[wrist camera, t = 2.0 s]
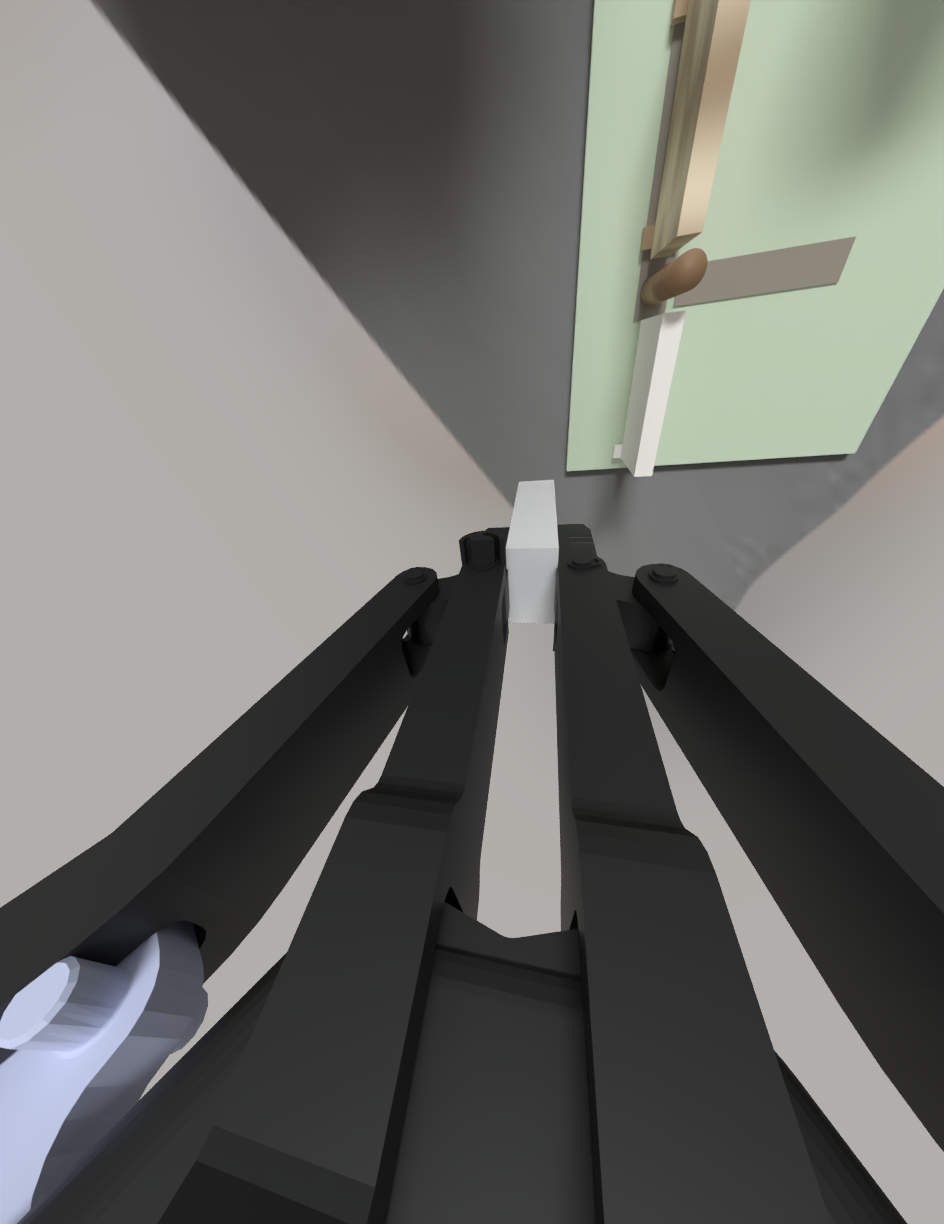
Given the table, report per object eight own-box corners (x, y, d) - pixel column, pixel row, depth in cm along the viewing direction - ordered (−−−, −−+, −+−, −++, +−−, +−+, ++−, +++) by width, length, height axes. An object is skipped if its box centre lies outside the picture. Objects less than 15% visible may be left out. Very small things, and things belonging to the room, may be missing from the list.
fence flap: (630, 322, 24) (651, 315, 19) (667, 316, 23) (698, 308, 19) (612, 457, 29) (625, 477, 25) (642, 455, 29) (660, 475, 24)
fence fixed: (673, -19, 17) (750, -238, 10) (728, -37, 16) (842, -277, 10) (630, 310, 24) (660, 295, 18) (666, 304, 24) (710, 288, 17)
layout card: (596, -31, 17) (597, -43, 16) (1215, -243, 13) (1245, -270, 12) (566, 469, 31) (566, 471, 31) (849, 451, 27) (855, 453, 26)
